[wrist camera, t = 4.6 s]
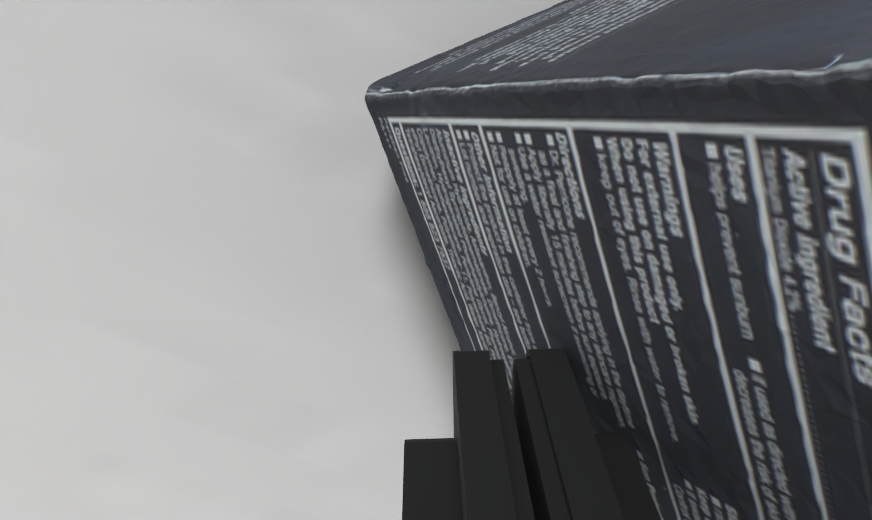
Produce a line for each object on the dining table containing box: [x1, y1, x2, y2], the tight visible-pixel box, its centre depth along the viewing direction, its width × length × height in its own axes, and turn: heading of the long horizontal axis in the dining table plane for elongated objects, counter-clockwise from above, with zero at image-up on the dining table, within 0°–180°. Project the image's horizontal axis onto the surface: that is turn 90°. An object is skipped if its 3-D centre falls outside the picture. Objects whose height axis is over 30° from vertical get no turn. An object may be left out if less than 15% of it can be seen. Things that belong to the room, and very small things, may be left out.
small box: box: [365, 0, 872, 520], centre depth 11 cm, size 11×6×10 cm, turn 20°
